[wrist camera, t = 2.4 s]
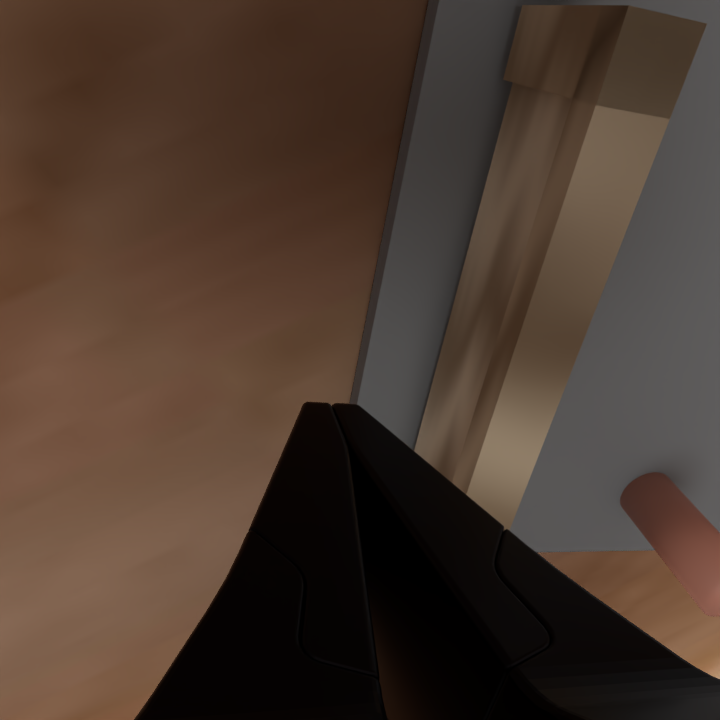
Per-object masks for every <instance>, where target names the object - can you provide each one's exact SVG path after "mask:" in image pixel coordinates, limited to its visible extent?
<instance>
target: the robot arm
mask: <svg viewBox="0 0 720 720" xmlns="http://www.w3.org/2000/svg"><path fill="white" fill-rule="evenodd" d="M134 720H720V679H717V678H715V677H713V676H711V675H709V674H707V673H705V672H703V671H702V670H700V669H698V668H696V667H694V666H693V665H691V664H690V663H688V662H687V661H685V660H684V659H682V658H681V657H679V656H678V655H676V654H675V653H674V652H672V651H671V650H669V649H668V648H667V647H665V646H664V645H662V644H661V643H659V642H658V641H657V640H655V639H654V638H652V637H651V636H650V635H648V634H647V633H645V632H644V631H643V630H641V629H640V628H638V627H637V626H636V625H634V624H633V623H631V622H630V621H628V620H627V619H626V618H624V617H623V616H621V615H620V614H619V613H617V612H616V611H614V610H613V609H612V608H610V607H609V606H607V605H606V604H604V603H603V602H602V601H600V600H599V599H597V598H596V597H595V596H593V595H592V594H590V593H589V592H588V591H586V590H585V589H584V588H582V587H581V586H580V585H578V584H577V583H575V582H574V581H573V580H571V579H570V578H569V577H567V576H566V575H565V574H563V573H562V572H561V571H559V570H558V569H557V568H555V567H554V566H553V565H552V564H550V563H549V562H548V561H546V560H545V559H544V558H543V557H541V556H540V555H539V554H538V553H536V552H535V551H534V550H533V549H531V548H530V547H529V546H528V545H526V544H525V543H524V542H523V541H522V540H520V539H519V538H518V537H517V536H516V535H514V534H513V533H512V532H511V531H510V530H508V529H505V530H504V526H503V525H502V524H501V523H500V522H499V521H497V520H496V519H495V518H494V517H493V516H491V515H490V514H489V513H488V512H487V511H485V510H484V509H483V508H482V507H481V506H479V505H478V504H477V503H476V502H475V501H473V500H472V499H471V498H470V497H469V496H467V495H466V494H465V493H464V492H463V491H461V490H460V489H459V488H458V487H457V486H455V485H454V484H453V483H452V482H451V481H449V480H448V479H447V478H446V477H445V476H443V475H442V474H441V473H440V472H439V471H437V470H436V469H435V468H434V467H433V466H432V465H430V464H429V463H428V462H427V461H426V460H424V459H423V458H422V457H421V456H420V455H418V454H417V453H416V452H415V451H414V450H412V449H411V448H410V447H409V446H408V445H406V444H405V443H404V442H403V441H402V440H400V439H399V438H398V437H397V436H396V435H394V434H393V433H392V432H391V431H390V430H388V429H387V428H386V427H385V426H384V425H382V424H381V423H380V422H379V421H378V420H376V419H375V418H374V417H373V416H372V415H370V414H369V413H368V412H367V411H366V410H364V409H363V408H362V407H361V406H359V405H357V404H344V403H335V404H333V405H332V406H331V405H330V404H329V403H321V402H306V403H304V404H303V406H302V408H301V411H300V413H299V415H298V417H297V420H296V422H295V424H294V427H293V429H292V431H291V434H290V436H289V438H288V441H287V443H286V445H285V447H284V450H283V452H282V454H281V457H280V459H279V461H278V464H277V466H276V468H275V471H274V473H273V475H272V478H271V480H270V482H269V484H268V487H267V489H266V491H265V494H264V496H263V498H262V501H261V503H260V505H259V508H258V510H257V512H256V515H255V517H254V519H253V521H252V524H251V526H250V528H249V532H248V533H247V534H246V537H245V539H244V541H243V544H242V546H241V548H240V550H239V553H238V555H237V557H236V559H235V561H234V563H233V565H232V567H231V569H230V571H229V573H228V575H227V577H226V579H225V581H224V582H223V584H222V586H221V588H220V589H219V591H218V593H217V594H216V596H215V598H214V599H213V601H212V603H211V604H210V606H209V608H208V609H207V611H206V613H205V614H204V616H203V617H202V619H201V620H200V622H199V623H198V625H197V626H196V628H195V629H194V631H193V632H192V634H191V635H190V637H189V639H188V640H187V642H186V643H185V645H184V646H183V648H182V649H181V651H180V652H179V654H178V655H177V657H176V658H175V660H174V661H173V663H172V665H171V666H170V668H169V669H168V671H167V672H166V674H165V675H164V677H163V678H162V680H161V681H160V683H159V684H158V686H157V687H156V689H155V691H154V692H153V694H152V695H151V696H150V698H149V699H148V701H147V702H146V704H145V705H144V707H143V708H142V709H141V711H140V712H139V714H138V715H137V716H136V717H135V719H134Z"/></svg>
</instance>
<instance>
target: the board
mask: <svg viewBox="0 0 720 720" xmlns="http://www.w3.org/2000/svg"><path fill="white" fill-rule="evenodd" d="M522 5H630V6H634V7H638V8H642V9H647V10H651V11H655V12H659V13H664V14H668V15H672V16H677V17H681V18H685V19H689V20H694V21H698V22H702V23H707V25H706V28H705V30H704V33H703V36H702V38H701V41H700V43H699V46H698V48H697V51H696V54H695V56H694V59H693V61H692V64H691V66H690V69H689V71H688V74H687V77H686V79H685V82H684V84H683V87H682V89H681V92H680V95H679V97H678V100H677V102H676V105H675V107H674V110H673V112H672V115H671V118H670V120H669V123H668V125H667V128H666V130H665V133H664V136H663V138H662V141H661V143H660V146H659V148H658V151H657V153H656V156H655V159H654V161H653V164H652V166H651V169H650V171H649V174H648V177H647V179H646V182H645V184H644V187H643V189H642V192H641V194H640V197H639V200H638V202H637V205H636V207H635V210H634V212H633V215H632V218H631V220H630V223H629V225H628V228H627V230H626V233H625V235H624V238H623V241H622V243H621V246H620V248H619V251H618V253H617V256H616V259H615V261H614V264H613V266H612V269H611V271H610V274H609V276H608V279H607V282H606V284H605V287H604V289H603V292H602V294H601V297H600V300H599V302H598V305H597V307H596V310H595V312H594V315H593V318H592V320H591V323H590V325H589V328H588V330H587V333H586V335H585V338H584V341H583V343H582V346H581V348H580V351H579V353H578V356H577V359H576V361H575V364H574V366H573V369H572V371H571V374H570V376H569V379H568V382H567V384H566V387H565V389H564V392H563V394H562V397H561V400H560V402H559V405H558V407H557V410H556V412H555V415H554V417H553V420H552V423H551V425H550V428H549V430H548V433H547V435H546V438H545V441H544V443H543V446H542V448H541V451H540V453H539V456H538V458H537V461H536V464H535V466H534V469H533V471H532V474H531V476H530V479H529V482H528V484H527V487H526V489H525V492H524V494H523V497H522V499H521V502H520V505H519V507H518V510H517V512H516V515H515V517H514V520H513V523H512V525H511V528H510V531H511V532H512V533H513V534H514V535H516V536H517V537H518V538H519V539H520V540H522V541H523V542H524V543H525V544H526V545H528V546H529V547H530V548H531V549H533V550H534V551H535V552H581V551H638V550H655V549H654V548H653V547H652V546H651V544H650V543H649V542H648V540H647V539H646V538H645V537H644V535H643V534H642V533H641V531H640V530H639V529H638V528H637V526H636V525H635V524H634V522H633V521H632V520H631V519H630V517H629V516H628V515H627V513H626V512H625V511H624V510H623V508H622V507H621V504H620V498H621V495H622V492H623V491H624V489H625V488H626V487H627V485H628V484H629V483H631V482H632V481H633V480H634V479H636V478H638V477H640V476H642V475H644V474H647V473H652V472H659V473H663V474H665V475H666V476H667V477H668V478H669V479H670V480H671V481H672V482H673V483H674V484H675V485H676V486H677V487H678V488H679V489H680V490H681V492H682V493H683V494H684V495H685V496H686V497H687V498H688V499H689V500H690V501H691V502H692V503H693V505H694V506H695V507H696V508H697V509H698V510H699V511H700V512H701V513H702V514H703V515H704V516H705V517H706V519H707V520H708V521H709V522H710V523H711V524H712V525H713V526H714V527H715V528H716V529H717V530H718V532H719V533H720V0H429V1H428V6H427V11H426V16H425V22H424V27H423V32H422V37H421V42H420V47H419V52H418V57H417V62H416V67H415V72H414V78H413V83H412V88H411V93H410V98H409V103H408V108H407V113H406V118H405V123H404V129H403V134H402V139H401V144H400V149H399V154H398V159H397V164H396V169H395V174H394V180H393V185H392V190H391V195H390V200H389V205H388V210H387V215H386V220H385V225H384V230H383V236H382V241H381V246H380V251H379V256H378V261H377V266H376V271H375V276H374V281H373V287H372V292H371V297H370V302H369V307H368V312H367V317H366V322H365V327H364V332H363V338H362V343H361V348H360V353H359V358H358V363H357V368H356V373H355V378H354V383H353V388H352V394H351V399H350V404H357V405H359V406H361V407H362V408H363V409H364V410H366V411H367V412H368V413H369V414H370V415H372V416H373V417H374V418H375V419H376V420H378V421H379V422H380V423H381V424H382V425H384V426H385V427H386V428H387V429H388V430H390V431H391V432H392V433H393V434H394V435H396V436H397V437H398V438H399V439H400V440H402V441H403V442H404V443H405V444H406V445H408V446H409V447H410V448H411V449H412V450H414V449H415V446H416V442H417V438H418V434H419V431H420V427H421V423H422V419H423V416H424V412H425V408H426V405H427V401H428V397H429V393H430V390H431V386H432V382H433V378H434V375H435V371H436V367H437V363H438V360H439V356H440V352H441V349H442V345H443V341H444V337H445V334H446V330H447V326H448V322H449V319H450V315H451V311H452V307H453V304H454V300H455V296H456V292H457V289H458V285H459V281H460V278H461V274H462V270H463V266H464V263H465V259H466V255H467V251H468V248H469V244H470V240H471V236H472V233H473V229H474V225H475V222H476V218H477V214H478V210H479V207H480V203H481V199H482V195H483V192H484V188H485V184H486V180H487V177H488V173H489V169H490V166H491V162H492V158H493V154H494V151H495V147H496V143H497V139H498V136H499V132H500V128H501V124H502V121H503V117H504V113H505V109H506V106H507V102H508V98H509V95H510V91H511V87H512V83H513V82H510V81H506V80H503V78H504V74H505V70H506V67H507V63H508V59H509V55H510V51H511V47H512V43H513V40H514V36H515V32H516V28H517V24H518V20H519V17H520V13H521V9H522Z"/></svg>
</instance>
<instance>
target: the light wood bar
mask: <svg viewBox="0 0 720 720" xmlns="http://www.w3.org/2000/svg"><path fill="white" fill-rule="evenodd" d="M706 25H707V23H702V22H698V21H694V20H689V19H685V18H681V17H677V16H672V15H668V14H664V13H659V12H655V11H651V10H647V9H642V8H638V7H634V6H630V5H522V9H521V13H520V17H519V20H518V24H517V28H516V32H515V36H514V40H513V43H512V47H511V51H510V55H509V59H508V63H507V67H506V70H505V74H504V78H503V80H506V81H510V82H513V83H512V87H511V91H510V95H509V98H508V102H507V106H506V109H505V113H504V117H503V121H502V124H501V128H500V132H499V136H498V139H497V143H496V147H495V151H494V154H493V158H492V162H491V166H490V169H489V173H488V177H487V180H486V184H485V188H484V192H483V195H482V199H481V203H480V207H479V210H478V214H477V218H476V222H475V225H474V229H473V233H472V236H471V240H470V244H469V248H468V251H467V255H466V259H465V263H464V266H463V270H462V274H461V278H460V281H459V285H458V289H457V292H456V296H455V300H454V304H453V307H452V311H451V315H450V319H449V322H448V326H447V330H446V334H445V337H444V341H443V345H442V349H441V352H440V356H439V360H438V363H437V367H436V371H435V375H434V378H433V382H432V386H431V390H430V393H429V397H428V401H427V405H426V408H425V412H424V416H423V419H422V423H421V427H420V431H419V434H418V438H417V442H416V446H415V449H414V451H415V452H416V453H417V454H418V455H420V456H421V457H422V458H423V459H424V460H426V461H427V462H428V463H429V464H430V465H432V466H433V467H434V468H435V469H436V470H437V471H439V472H440V473H441V474H442V475H443V476H445V477H446V478H447V479H448V480H449V481H451V482H452V483H453V484H454V485H455V486H457V487H458V488H459V489H460V490H461V491H463V492H464V493H465V494H466V495H467V496H469V497H470V498H471V499H472V500H473V501H475V502H476V503H477V504H478V505H479V506H481V507H482V508H483V509H484V510H485V511H487V512H488V513H489V514H490V515H491V516H493V517H494V518H495V519H496V520H497V521H499V522H500V523H501V524H502V525H503V526H504V530H505V529H508V530H510V528H511V525H512V523H513V520H514V517H515V515H516V512H517V510H518V507H519V505H520V502H521V499H522V497H523V494H524V492H525V489H526V487H527V484H528V482H529V479H530V476H531V474H532V471H533V469H534V466H535V464H536V461H537V458H538V456H539V453H540V451H541V448H542V446H543V443H544V441H545V438H546V435H547V433H548V430H549V428H550V425H551V423H552V420H553V417H554V415H555V412H556V410H557V407H558V405H559V402H560V400H561V397H562V394H563V392H564V389H565V387H566V384H567V382H568V379H569V376H570V374H571V371H572V369H573V366H574V364H575V361H576V359H577V356H578V353H579V351H580V348H581V346H582V343H583V341H584V338H585V335H586V333H587V330H588V328H589V325H590V323H591V320H592V318H593V315H594V312H595V310H596V307H597V305H598V302H599V300H600V297H601V294H602V292H603V289H604V287H605V284H606V282H607V279H608V276H609V274H610V271H611V269H612V266H613V264H614V261H615V259H616V256H617V253H618V251H619V248H620V246H621V243H622V241H623V238H624V235H625V233H626V230H627V228H628V225H629V223H630V220H631V218H632V215H633V212H634V210H635V207H636V205H637V202H638V200H639V197H640V194H641V192H642V189H643V187H644V184H645V182H646V179H647V177H648V174H649V171H650V169H651V166H652V164H653V161H654V159H655V156H656V153H657V151H658V148H659V146H660V143H661V141H662V138H663V136H664V133H665V130H666V128H667V125H668V123H669V120H670V118H671V115H672V112H673V110H674V107H675V105H676V102H677V100H678V97H679V95H680V92H681V89H682V87H683V84H684V82H685V79H686V77H687V74H688V71H689V69H690V66H691V64H692V61H693V59H694V56H695V54H696V51H697V48H698V46H699V43H700V41H701V38H702V36H703V33H704V30H705V28H706Z"/></svg>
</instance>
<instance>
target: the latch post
mask: <svg viewBox="0 0 720 720" xmlns="http://www.w3.org/2000/svg"><path fill="white" fill-rule="evenodd" d="M620 504H621V507H622V508H623V510H624V511H625V512H626V513H627V515H628V516H629V517H630V519H631V520H632V521H633V522H634V524H635V525H636V526H637V528H638V529H639V530H640V531H641V533H642V534H643V535H644V537H645V538H646V539H647V540H648V542H649V543H650V544H651V546H652V547H653V548H654V549H655V551H656V552H657V553H658V555H659V556H660V557H661V558H662V560H663V561H664V562H665V564H666V565H667V566H668V567H669V569H670V570H671V571H672V573H673V574H674V575H675V576H676V578H677V579H678V580H679V582H680V583H681V584H682V585H683V587H684V588H685V589H686V591H687V592H688V593H689V594H690V596H691V597H692V598H693V600H694V601H695V602H696V603H697V605H698V606H699V607H700V609H701V610H702V611H703V612H704V613H705V614H706V615H709V616H720V533H719V532H718V530H717V529H716V528H715V527H714V526H713V525H712V524H711V523H710V522H709V521H708V520H707V519H706V517H705V516H704V515H703V514H702V513H701V512H700V511H699V510H698V509H697V508H696V507H695V506H694V505H693V503H692V502H691V501H690V500H689V499H688V498H687V497H686V496H685V495H684V494H683V493H682V492H681V490H680V489H679V488H678V487H677V486H676V485H675V484H674V483H673V482H672V481H671V480H670V479H669V478H668V477H667V476H666V475H665V474H663V473H659V472H652V473H647V474H644V475H642V476H640V477H638V478H636V479H634V480H633V481H632V482H631V483H629V484H628V485H627V487H626V488H625V489H624V491H623V492H622V495H621V498H620Z"/></svg>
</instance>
